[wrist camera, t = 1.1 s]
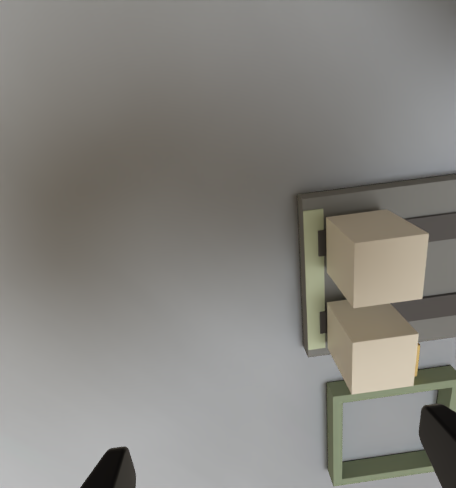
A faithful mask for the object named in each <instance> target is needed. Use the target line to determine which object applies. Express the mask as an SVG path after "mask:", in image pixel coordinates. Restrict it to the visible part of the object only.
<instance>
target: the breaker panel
mask: <svg viewBox="0 0 456 488" xmlns="http://www.w3.org/2000/svg"><path fill="white" fill-rule="evenodd" d="M297 197H298V221H299V245H300V269H301V293H302V316H303V340H304V348H305V351H306V353H307V356H308V357H314V356H322V355H329V354H331V353H330V352H329V350H328V335H327V302H333V301H341V300H347V299H346V298H345V296H344V295H343V294H342V292H341V291H340V290H339V288H338V287H337V285H336V284H335V283H334V281H333V280H332V279H331V277H330V276H329V275H328V273H327V249H326V217H331V216H339V215H347V214H354V213H362V212H370V211H377V210H385V209H387V210H389V211H391V212H392V213H394V214H396V215H398V216H399V217H401V218H403V219H405V220H406V221H408V222H410V223H412V224H413V225H415V226H417V227H419V228H420V229H422V230H424V231H425V232H427V233H429V239H428V248H427V258H426V268H425V278H424V288H423V297H422V299H418V300H411V301H403V302H396V303H390V304H391V305H392V306H393V307H394V308H395V309H396V310H397V311H398V312H399V313H400V314H401V315H402V316H403V318H404V319H405V320H406V321H407V322H408V323H409V324H410V325H411V326H412V327H413V328H414V329H415V330H416V331H417V332H418V333H419V337H418V342H423V341H430V340H437V339H444V338H451V337H456V174H452V175H445V176H437V177H429V178H421V179H414V180H406V181H398V182H390V183H382V184H375V185H367V186H359V187H351V188H344V189H336V190H328V191H320V192H312V193H305V194H297Z"/></svg>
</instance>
